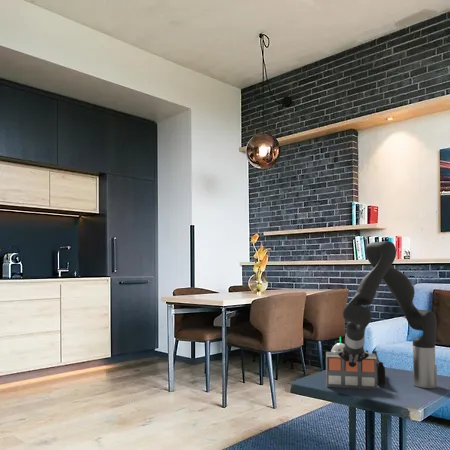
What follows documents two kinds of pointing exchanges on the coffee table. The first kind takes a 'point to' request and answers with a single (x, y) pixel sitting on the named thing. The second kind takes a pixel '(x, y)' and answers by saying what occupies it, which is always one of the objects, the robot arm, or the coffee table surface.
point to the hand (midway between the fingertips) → (352, 365)
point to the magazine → (380, 371)
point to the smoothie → (338, 346)
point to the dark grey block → (350, 375)
